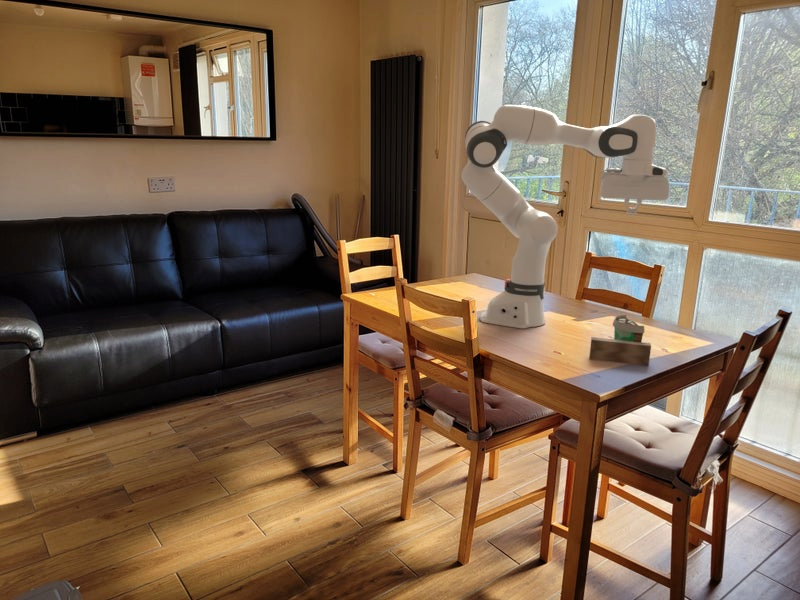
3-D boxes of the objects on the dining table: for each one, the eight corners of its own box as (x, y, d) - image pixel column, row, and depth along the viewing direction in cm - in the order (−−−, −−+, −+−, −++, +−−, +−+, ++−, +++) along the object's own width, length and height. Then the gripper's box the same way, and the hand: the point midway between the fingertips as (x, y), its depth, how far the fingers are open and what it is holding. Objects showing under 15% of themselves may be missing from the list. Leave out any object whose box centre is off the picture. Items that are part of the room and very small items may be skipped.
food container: (602, 345, 187) (606, 314, 184) (621, 345, 187) (625, 314, 185) (620, 359, 175) (624, 326, 172) (641, 359, 175) (645, 326, 173)
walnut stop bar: (589, 359, 174) (591, 339, 173) (589, 356, 177) (591, 337, 175) (648, 366, 170) (651, 345, 168) (647, 363, 172) (650, 343, 171)
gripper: (601, 168, 188) (597, 213, 191) (672, 170, 182) (666, 216, 185) (601, 167, 194) (597, 210, 197) (670, 169, 188) (664, 214, 191)
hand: (631, 213), depth 191 cm, fingers closed
